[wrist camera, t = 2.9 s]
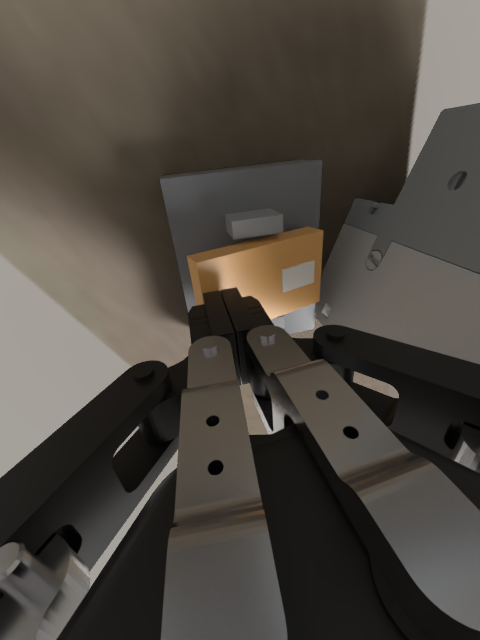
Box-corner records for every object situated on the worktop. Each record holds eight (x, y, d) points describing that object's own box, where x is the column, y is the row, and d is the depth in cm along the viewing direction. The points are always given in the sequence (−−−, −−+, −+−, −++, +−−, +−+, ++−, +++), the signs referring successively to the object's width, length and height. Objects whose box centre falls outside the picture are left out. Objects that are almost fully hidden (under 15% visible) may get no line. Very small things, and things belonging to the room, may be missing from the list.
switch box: (161, 175, 16) (157, 182, 11) (299, 159, 17) (343, 160, 12) (193, 328, 21) (199, 372, 16) (297, 308, 22) (328, 345, 17)
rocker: (183, 253, 13) (197, 263, 12) (301, 225, 15) (325, 230, 14) (197, 326, 15) (211, 343, 14) (300, 291, 18) (321, 302, 16)
